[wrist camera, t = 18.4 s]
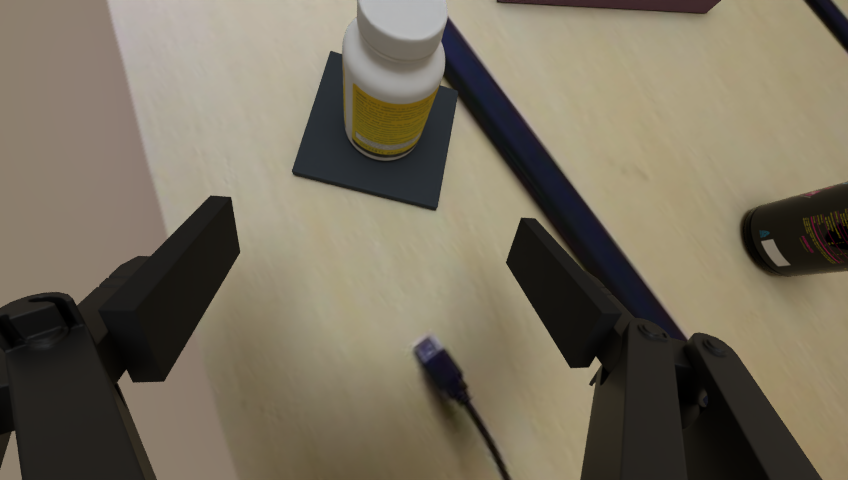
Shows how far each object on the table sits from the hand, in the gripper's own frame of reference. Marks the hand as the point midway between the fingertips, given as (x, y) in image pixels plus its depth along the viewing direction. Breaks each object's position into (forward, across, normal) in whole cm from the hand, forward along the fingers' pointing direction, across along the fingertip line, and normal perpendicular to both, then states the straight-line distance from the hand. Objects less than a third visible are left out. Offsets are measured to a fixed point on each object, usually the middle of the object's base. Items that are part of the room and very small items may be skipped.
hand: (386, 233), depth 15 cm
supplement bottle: (+11, 0, +2) cm, 11 cm away
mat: (+12, 0, +2) cm, 12 cm away
